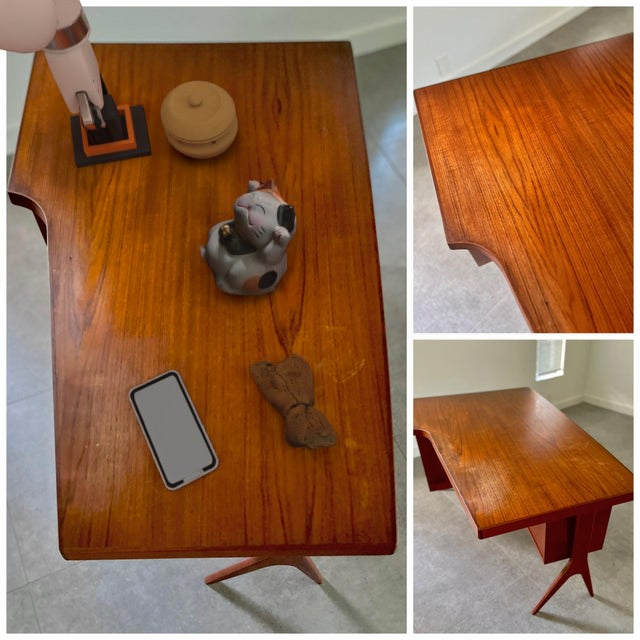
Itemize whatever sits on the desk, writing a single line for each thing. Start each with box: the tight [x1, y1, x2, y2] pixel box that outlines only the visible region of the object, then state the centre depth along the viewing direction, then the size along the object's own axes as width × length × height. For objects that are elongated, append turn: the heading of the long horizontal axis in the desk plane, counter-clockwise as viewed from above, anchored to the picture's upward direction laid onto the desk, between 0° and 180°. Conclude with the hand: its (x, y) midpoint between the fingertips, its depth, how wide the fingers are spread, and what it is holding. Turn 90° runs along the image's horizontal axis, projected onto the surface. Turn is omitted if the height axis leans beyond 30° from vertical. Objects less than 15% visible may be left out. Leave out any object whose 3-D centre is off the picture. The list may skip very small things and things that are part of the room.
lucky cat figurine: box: [199, 178, 297, 296], centre depth 76 cm, size 15×12×14 cm
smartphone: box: [128, 369, 220, 491], centre depth 71 cm, size 7×1×15 cm
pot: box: [160, 80, 239, 160], centre depth 85 cm, size 12×12×10 cm
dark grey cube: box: [81, 93, 126, 145], centre depth 85 cm, size 5×5×6 cm
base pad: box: [69, 104, 153, 169], centre depth 88 cm, size 12×10×2 cm
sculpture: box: [248, 353, 338, 451], centre depth 69 cm, size 8×10×15 cm
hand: (101, 118), depth 85 cm, fingers open, 9 cm apart
